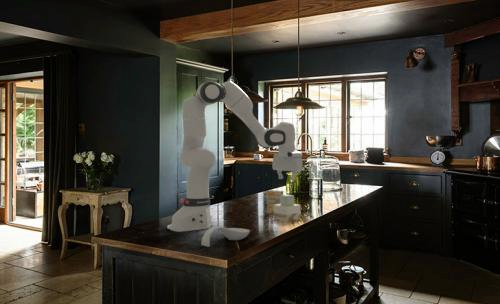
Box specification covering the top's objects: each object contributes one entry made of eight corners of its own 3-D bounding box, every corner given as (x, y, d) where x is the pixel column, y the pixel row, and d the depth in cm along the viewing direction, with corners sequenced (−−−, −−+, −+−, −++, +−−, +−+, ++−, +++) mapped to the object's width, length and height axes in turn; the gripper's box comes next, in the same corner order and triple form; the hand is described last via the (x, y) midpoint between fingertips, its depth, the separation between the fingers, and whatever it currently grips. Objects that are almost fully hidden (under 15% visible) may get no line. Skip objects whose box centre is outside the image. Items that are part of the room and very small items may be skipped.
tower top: (286, 214, 212) (286, 207, 212) (273, 212, 220) (273, 204, 220) (300, 212, 219) (300, 204, 218) (287, 210, 226) (287, 202, 226)
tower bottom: (286, 222, 213) (286, 214, 213) (273, 219, 221) (273, 212, 221) (300, 220, 219) (300, 212, 219) (287, 217, 227) (287, 209, 227)
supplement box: (267, 213, 236) (266, 190, 236) (270, 212, 241) (270, 189, 240) (280, 214, 232) (280, 191, 232) (283, 213, 237) (283, 190, 236)
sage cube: (286, 205, 215) (286, 196, 215) (280, 204, 220) (280, 195, 220) (294, 204, 218) (294, 195, 218) (288, 203, 222) (288, 194, 222)
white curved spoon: (236, 234, 189) (235, 218, 188) (255, 238, 181) (255, 222, 180) (195, 244, 171) (195, 227, 171) (214, 249, 163) (214, 231, 163)
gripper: (269, 152, 224) (269, 178, 225) (295, 153, 208) (295, 181, 208) (278, 152, 228) (278, 177, 229) (304, 153, 212) (304, 180, 212)
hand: (286, 179), depth 218 cm, fingers open, 8 cm apart
